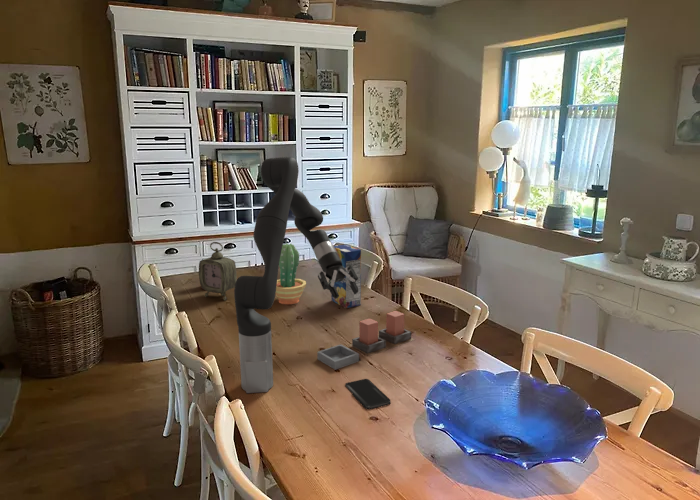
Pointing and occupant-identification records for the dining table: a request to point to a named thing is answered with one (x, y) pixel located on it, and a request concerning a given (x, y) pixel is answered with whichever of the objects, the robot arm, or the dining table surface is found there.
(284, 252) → the potted cactus
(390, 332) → the block
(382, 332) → the dark grey double holder
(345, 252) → the juice carton
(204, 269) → the tabletop clock
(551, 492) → the dining table surface
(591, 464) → the dining table surface
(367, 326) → the block
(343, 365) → the box
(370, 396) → the phone
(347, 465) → the dining table surface
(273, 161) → the robot arm
